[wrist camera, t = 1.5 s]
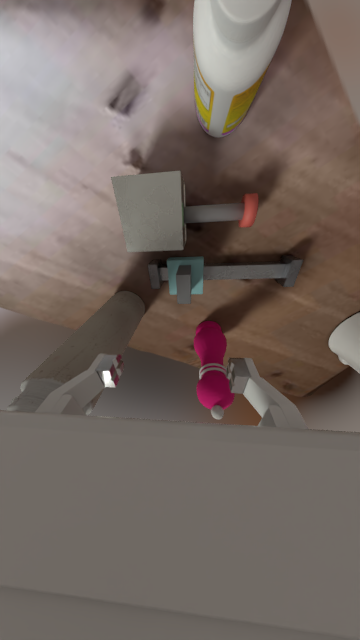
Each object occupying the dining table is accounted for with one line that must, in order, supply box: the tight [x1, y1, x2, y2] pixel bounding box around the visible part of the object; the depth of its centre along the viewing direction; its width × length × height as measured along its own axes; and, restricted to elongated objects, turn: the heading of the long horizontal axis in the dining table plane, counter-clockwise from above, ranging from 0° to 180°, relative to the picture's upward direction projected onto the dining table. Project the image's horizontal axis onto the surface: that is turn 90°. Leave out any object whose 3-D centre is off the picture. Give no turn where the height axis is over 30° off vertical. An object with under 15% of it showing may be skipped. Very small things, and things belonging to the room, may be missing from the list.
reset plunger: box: [183, 193, 258, 227], centre depth 22 cm, size 11×4×4 cm, turn 93°
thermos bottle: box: [7, 291, 145, 415], centre depth 24 cm, size 8×8×28 cm
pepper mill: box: [194, 321, 234, 419], centre depth 30 cm, size 7×7×20 cm
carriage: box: [167, 256, 204, 304], centre depth 26 cm, size 6×6×9 cm
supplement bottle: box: [193, 0, 292, 137], centre depth 13 cm, size 7×7×13 cm
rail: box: [148, 255, 303, 289], centre depth 28 cm, size 25×4×4 cm, turn 93°
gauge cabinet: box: [111, 171, 186, 252], centre depth 22 cm, size 8×8×8 cm
